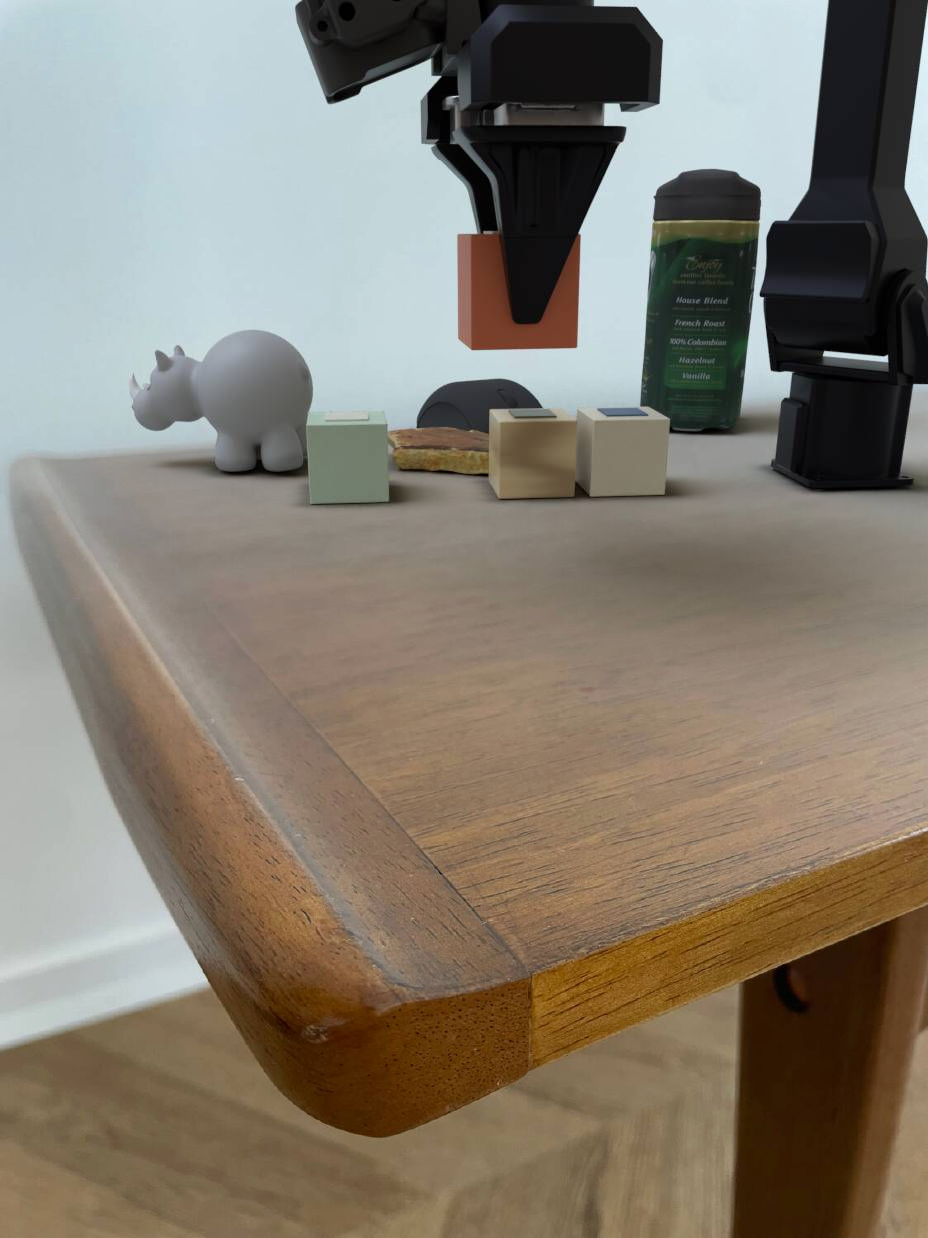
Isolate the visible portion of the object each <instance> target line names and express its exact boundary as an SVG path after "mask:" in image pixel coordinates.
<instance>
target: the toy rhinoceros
mask: <svg viewBox="0 0 928 1238" xmlns="http://www.w3.org/2000/svg"><path fill="white" fill-rule="evenodd" d="M154 356H155V361H156V366H155V367H154V369H152V371H151V373H150V375H149V381H150V382H149V383H148V382H146V381H143V382H142V387H143V389H142V388H141V386H140V385H139V384H138V382H137V379H136V377H135V373H134V372H132V373H131V375H130V377H129V381H128V391H129V396H130V397H131V399H132V404H131V409H132V410H133V415H134V417H135V419H136V421H137V423H138V424H139V425H140V426H142V427H143V428H145V429H146V430H148V431H151V432H152V431H153V432H162V431H165V430H167V429H168V428H170V427H172V425H173V424H174V423H176V422H178V423H179V422H181V423H194V422H197V421H198V420H200V419H201V418H205V419H206V420H207V421H208V423H209V424H210V425H211V427H212V428H213V429H214V430H215V431H216V433H217V434H216V435H217V436H216V441H215V444H214V463H215V466H216V468H217V469H219V470H220V471H224V472H230V473H231V472H232V473H236V472H237V473H238V472H239V473H240V472H245V471H250V470H253V469H254V468H255V467H256V466H257V461H259V460H261V463H262V466H263V468H264V469H265V470H266V471H269V472H277V473H278V472H288V471H293V470H296V469H299V468H301V467H302V466H303V464H304V458H306V457H308V451H307V432H306V424H307V418H308V413H309V412H310V410H311V407H312V404H313V399H314V398H313V397H314V383H313V377H312V375H311V374H312V373H311V371H310V368H309V366H308V364H307V362H306V360H305V358H304V356H303V355H302V354H301V353H300V351H299V350H298V349H297V348H296V347H295V346H294V345H293V344H292V343H290V341H288V340H287V339H285V338H283V337H282V336H280V335H278V334H275V333H273V332H270V331H266V330H261V329H244V330H239V331H235V332H232V333H229V334H228V335H226V336H224V337H222V338H221V339H219V340H217V342H215V343H214V344H213V345H212V346H211V347H210V349H209V350H208V351H207V352H206V353H205V355H204V357H203V358H202V361H200V360H196V359H195V358H193V357H189V356H186V354H185V351H184V349H183V348H182V346H180V345H179V344H176V345H175V346H174V347H173V356H168V355H167V354H166V353H165V352H163V351H161V350H159V349H156V350H155V351H154Z"/></svg>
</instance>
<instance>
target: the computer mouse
mask: <svg viewBox="0 0 928 1238" xmlns="http://www.w3.org/2000/svg"><path fill="white" fill-rule="evenodd" d="M537 408H544V407H543V405H542V404H541V403H540V401H539V400H538V398H536V396H535V395H534V394H533V393H532V392H531V391H530V390H529V389H528V388H526V387H525V386H523V384H520V383H519V382H517V381H514V380H511V379H509V378H508V379H507V378H488V379H487V378H486V379H485V378H484V379H472V380H461V381H460V380H459V381H453V382H449V383H446V384H443V385H442V386H440V387H438V388H437V389H436V390H434V391H433V392H432V393H431V394H430V395H429V396H428V397H427V398H426V400H425V402H424V403H423V404H422V406H421V408H420V410H419V412H418V414H417V417H416V429H418V428H430V427H448V428H455V429H459V430H463V431H471V430H477V431H480V432H483V433H487V434H489V411H490V409H537Z"/></svg>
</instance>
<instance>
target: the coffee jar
mask: <svg viewBox="0 0 928 1238" xmlns="http://www.w3.org/2000/svg"><path fill="white" fill-rule="evenodd" d="M761 198H762V191H761V188H760V187H759V186H758V185H757V184H755V183H753V182H752V181H749V180H748V179H746V178H744V177H742V176H741V175H740V174H739V173H738V172H737V171H734V170H728V169H720V168H700V169H692V170H686V171H682V172H680V173H679V174H678V175H677V176H676V177H675V178H672V179H671V180H669V181H667V182H665V183H663V184H661V185H660V186H659V187H658V188H657V189H656V191H655V195H653V199H654V205H653V206H654V207H653V213H652V220H653V221H652V227H651V240H650V253H649V255H650V256H649V269H648V284H647V295H646V296H647V298H646V299H647V300H646V312H645V313H646V314H645V315H646V317H645V330H644V331H645V334H644V335H645V336H644V347H643V360H642V370H641V372H642V373H641V384H640V398H639V399H640V401H639V407H650V408H651V409H653V410H655V411H657V412H659V413H660V414H662V415H664V416H666V417H667V418H669V419H670V427H669V428H672V430H674V431H678V432H679V431H681V432H701V431H703V430H705V429H719V430H725V429H730V428H732V427H734V426H735V425H736V424H737V423H738V421H739V419H740V417H741V412H742V411H741V410H742V403H743V393H744V386H745V375H746V366H747V365H746V364H747V356H748V347H749V338H750V330H751V323H752V322H751V321H752V314H753V306H754V305H753V303H754V293H755V283H756V277H757V264H758V253H759V252H758V251H759V236H760V226H761V223H760V220H761V207H762V199H761Z"/></svg>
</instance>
